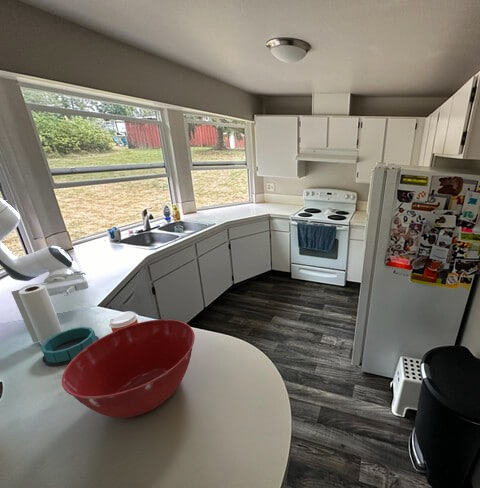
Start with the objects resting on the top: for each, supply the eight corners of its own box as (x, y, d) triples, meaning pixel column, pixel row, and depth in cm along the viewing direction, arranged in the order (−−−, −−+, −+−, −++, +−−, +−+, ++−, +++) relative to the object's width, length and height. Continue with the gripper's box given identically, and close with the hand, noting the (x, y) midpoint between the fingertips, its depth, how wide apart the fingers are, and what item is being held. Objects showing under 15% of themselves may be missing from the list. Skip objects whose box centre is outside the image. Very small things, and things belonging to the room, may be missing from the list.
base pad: (48, 373, 77) (43, 361, 76) (39, 353, 85) (33, 341, 83) (105, 347, 88) (101, 336, 87) (92, 331, 96) (88, 320, 94)
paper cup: (119, 362, 82) (108, 327, 78) (117, 349, 88) (107, 316, 83) (147, 351, 87) (138, 318, 83) (144, 339, 93) (136, 307, 88)
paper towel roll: (68, 336, 93) (49, 285, 86) (48, 347, 87) (26, 294, 80) (54, 332, 95) (34, 282, 87) (33, 343, 89) (10, 291, 82)
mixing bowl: (127, 357, 85) (115, 319, 79) (213, 353, 87) (208, 316, 82) (47, 449, 58) (23, 401, 53) (176, 440, 61) (164, 393, 56)
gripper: (20, 281, 99) (4, 297, 89) (88, 270, 110) (82, 283, 99) (26, 294, 101) (11, 312, 91) (92, 282, 112) (86, 297, 102)
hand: (49, 297), depth 95 cm, fingers open, 8 cm apart
